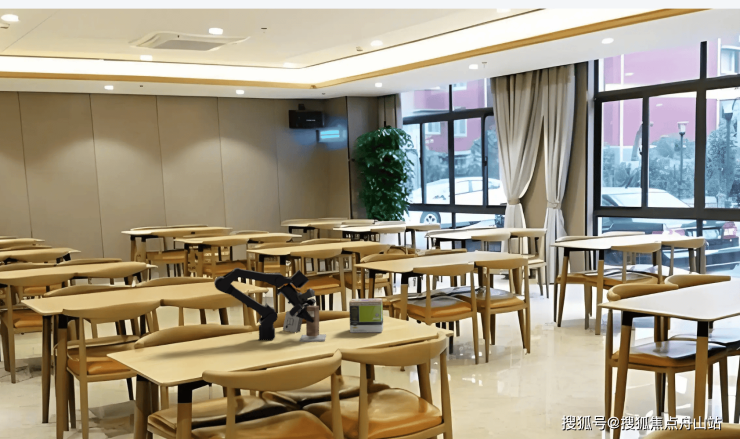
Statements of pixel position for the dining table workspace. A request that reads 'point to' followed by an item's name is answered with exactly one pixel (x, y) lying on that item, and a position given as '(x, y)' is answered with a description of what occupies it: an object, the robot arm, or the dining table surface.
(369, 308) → the tea box
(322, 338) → the slate coaster
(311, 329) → the walnut block
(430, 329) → the dining table surface
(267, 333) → the robot arm
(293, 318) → the electrical switch
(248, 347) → the dining table surface
